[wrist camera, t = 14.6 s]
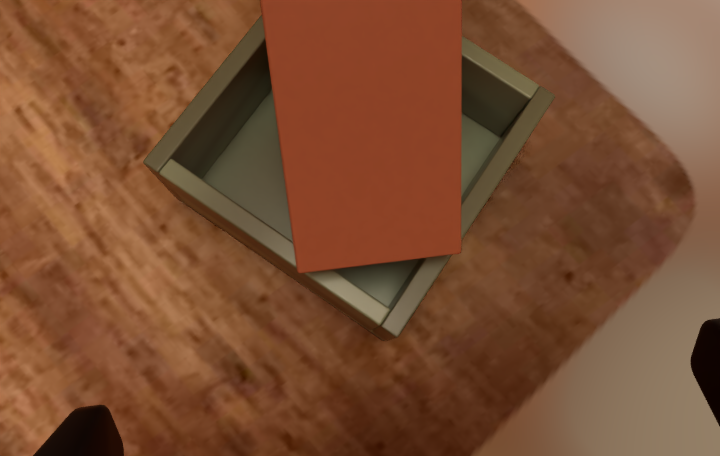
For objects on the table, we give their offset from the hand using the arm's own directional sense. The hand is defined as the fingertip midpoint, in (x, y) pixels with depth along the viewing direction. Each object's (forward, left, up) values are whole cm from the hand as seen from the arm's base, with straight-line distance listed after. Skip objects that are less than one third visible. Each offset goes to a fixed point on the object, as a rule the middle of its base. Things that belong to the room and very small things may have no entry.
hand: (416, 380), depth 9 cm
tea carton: (+3, -4, -9) cm, 10 cm away
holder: (+5, -6, -12) cm, 14 cm away
